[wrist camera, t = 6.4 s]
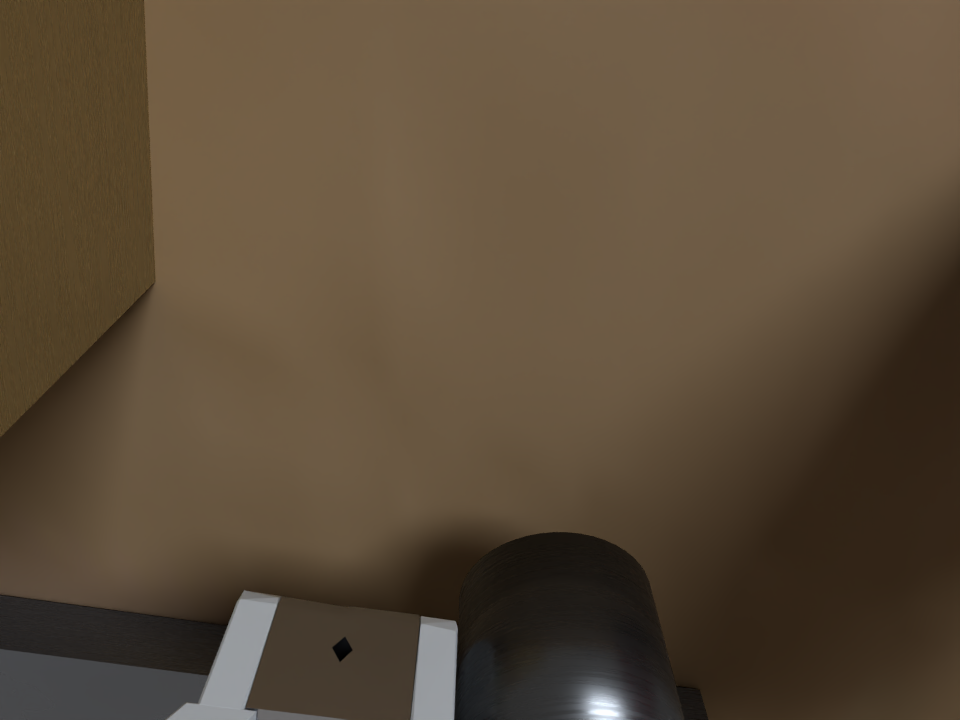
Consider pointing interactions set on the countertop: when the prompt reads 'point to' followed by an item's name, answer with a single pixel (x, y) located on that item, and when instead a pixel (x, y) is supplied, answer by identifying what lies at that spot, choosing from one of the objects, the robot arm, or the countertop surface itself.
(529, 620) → the lever
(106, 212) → the brass block
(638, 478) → the countertop surface
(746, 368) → the countertop surface
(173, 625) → the vise bed
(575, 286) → the countertop surface
